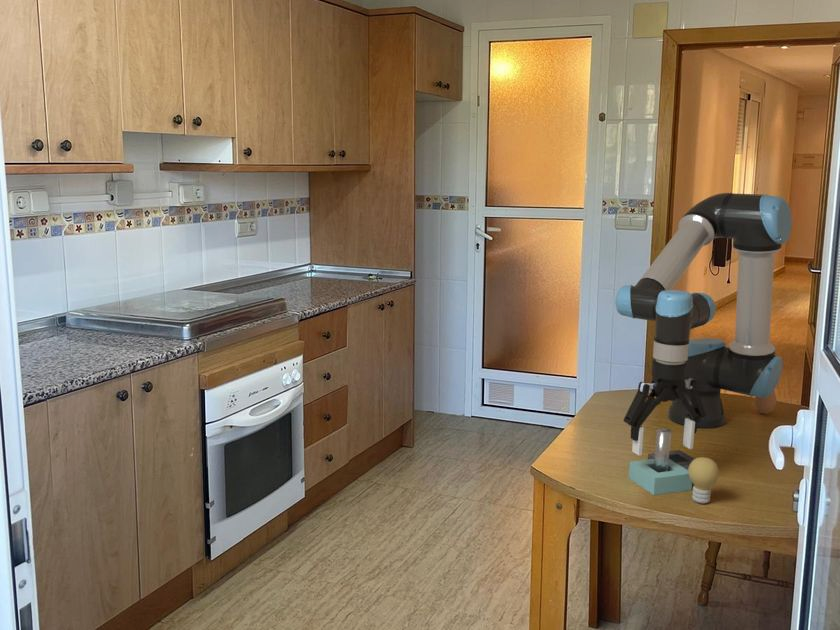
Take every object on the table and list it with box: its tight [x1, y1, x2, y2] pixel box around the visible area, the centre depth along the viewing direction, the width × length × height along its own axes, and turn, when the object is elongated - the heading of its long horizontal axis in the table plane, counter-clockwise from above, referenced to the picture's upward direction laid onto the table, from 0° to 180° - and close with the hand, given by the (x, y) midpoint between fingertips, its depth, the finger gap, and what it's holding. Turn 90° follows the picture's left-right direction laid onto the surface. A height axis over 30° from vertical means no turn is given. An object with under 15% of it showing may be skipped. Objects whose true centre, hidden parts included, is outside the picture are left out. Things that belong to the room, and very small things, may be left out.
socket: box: [628, 459, 693, 496], centre depth 192 cm, size 10×10×4 cm
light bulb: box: [688, 456, 720, 504], centre depth 182 cm, size 6×6×10 cm
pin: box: [653, 427, 672, 473], centre depth 191 cm, size 3×3×13 cm
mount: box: [647, 449, 695, 470], centre depth 201 cm, size 9×9×2 cm
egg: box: [754, 390, 777, 415], centre depth 243 cm, size 6×6×8 cm
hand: (662, 450), depth 191 cm, fingers open, 13 cm apart
